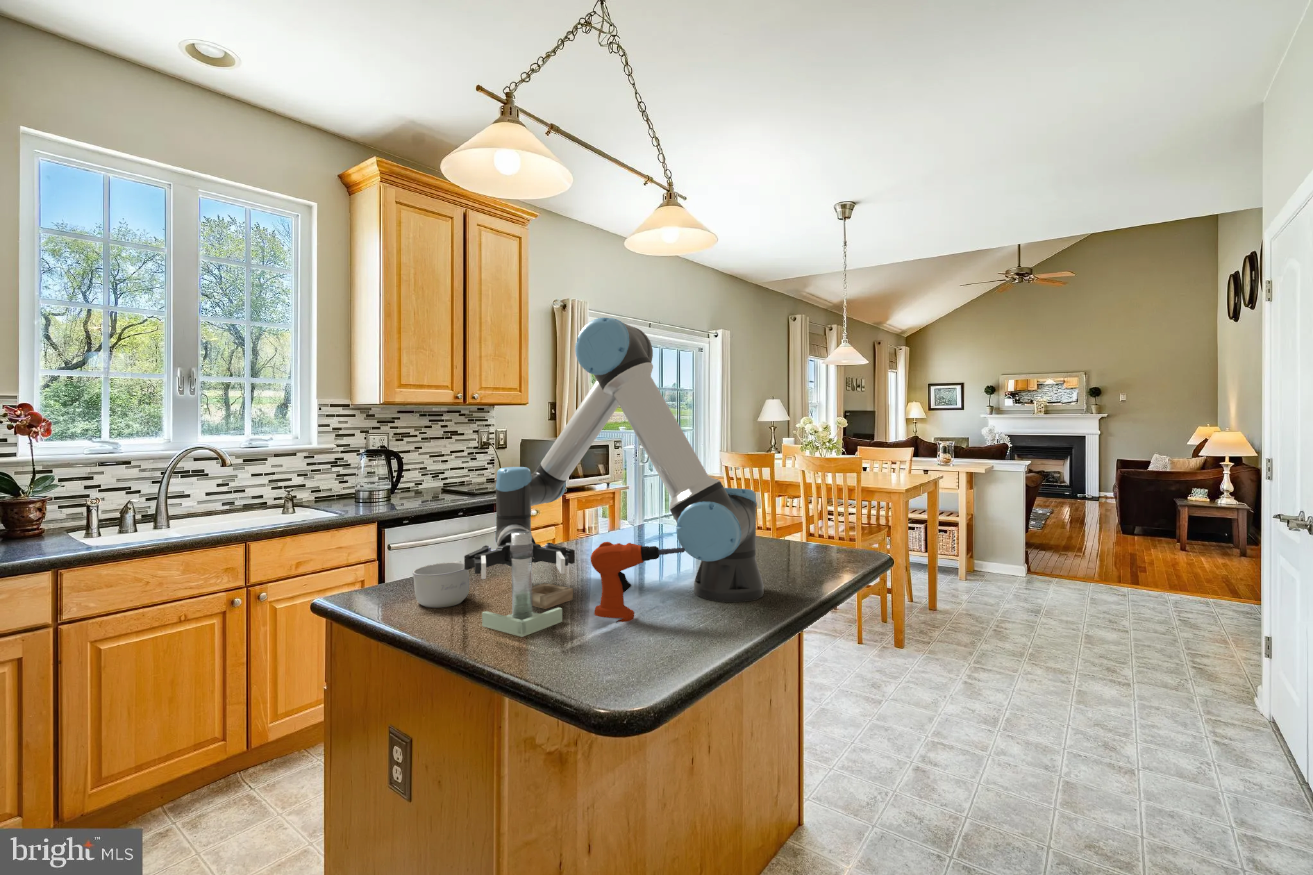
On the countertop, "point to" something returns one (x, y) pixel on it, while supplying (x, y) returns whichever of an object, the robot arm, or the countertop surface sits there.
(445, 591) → the teacup
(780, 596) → the countertop surface
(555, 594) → the socket
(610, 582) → the toy drill
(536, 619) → the pale green flat tray
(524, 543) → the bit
